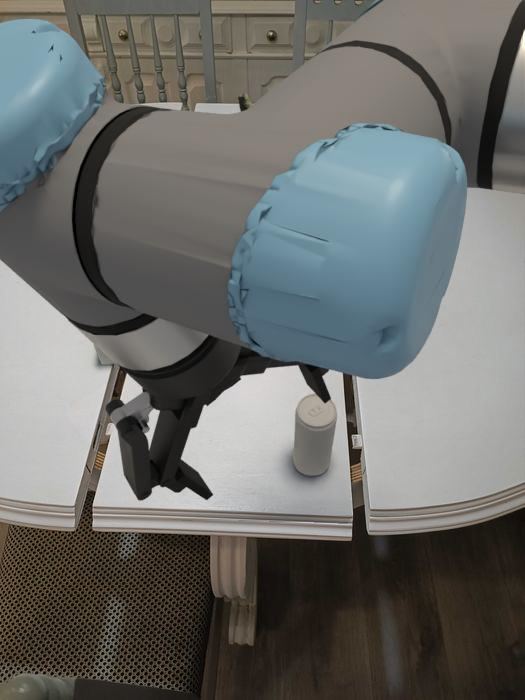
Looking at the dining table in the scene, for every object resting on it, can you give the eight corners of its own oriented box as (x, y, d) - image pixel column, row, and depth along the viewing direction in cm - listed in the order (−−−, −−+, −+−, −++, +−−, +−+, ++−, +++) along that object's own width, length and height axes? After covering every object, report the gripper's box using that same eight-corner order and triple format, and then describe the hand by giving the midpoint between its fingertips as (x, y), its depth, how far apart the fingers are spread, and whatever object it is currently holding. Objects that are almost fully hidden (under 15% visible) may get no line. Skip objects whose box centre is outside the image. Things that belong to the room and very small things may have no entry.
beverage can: (337, 465, 69) (346, 413, 60) (307, 485, 68) (313, 434, 58) (314, 439, 72) (320, 386, 63) (285, 457, 70) (287, 405, 61)
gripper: (291, 160, 34) (339, 328, 52) (-37, 407, 31) (133, 494, 49) (371, 219, 30) (393, 379, 48) (2, 507, 27) (172, 562, 45)
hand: (261, 438), depth 48 cm, fingers open, 13 cm apart
